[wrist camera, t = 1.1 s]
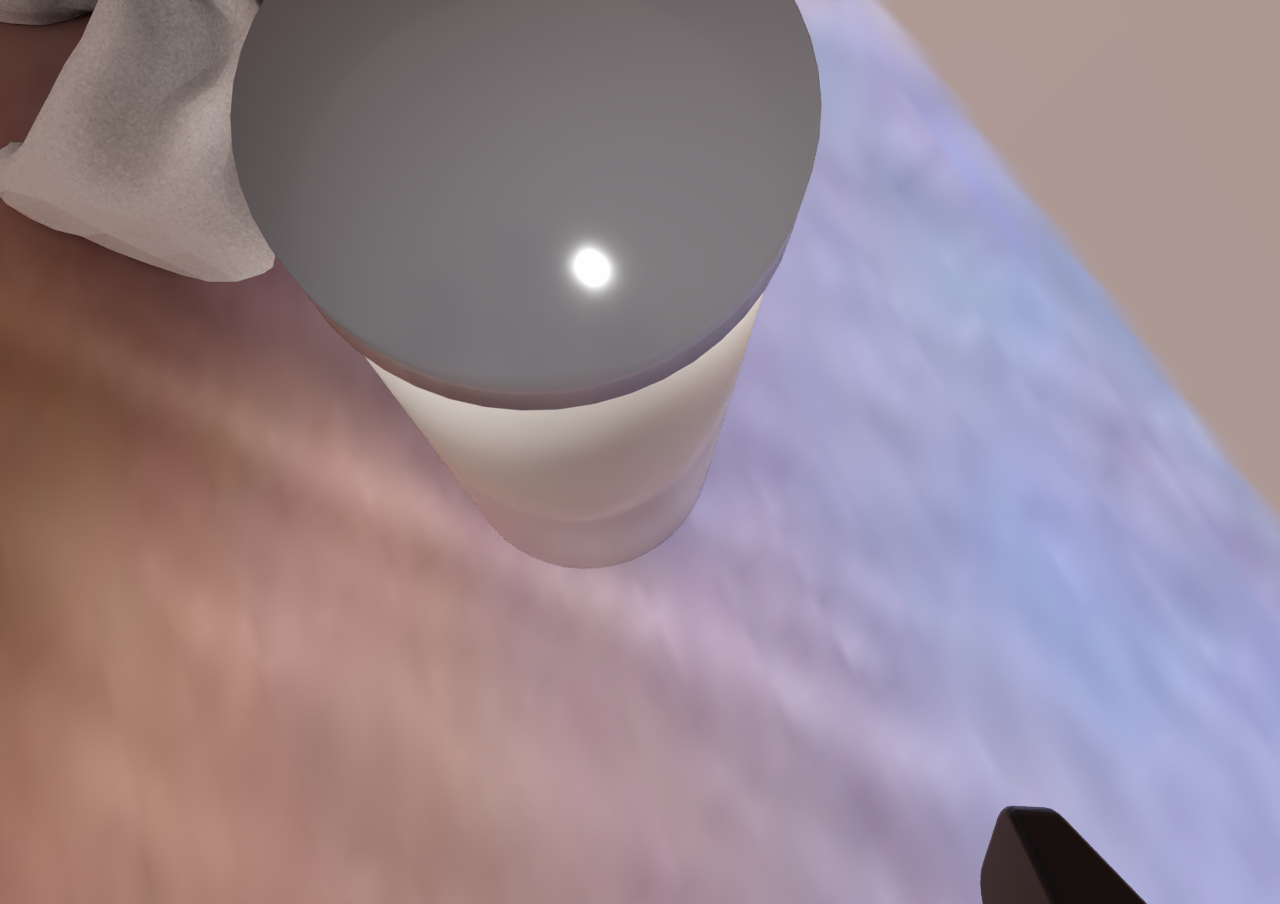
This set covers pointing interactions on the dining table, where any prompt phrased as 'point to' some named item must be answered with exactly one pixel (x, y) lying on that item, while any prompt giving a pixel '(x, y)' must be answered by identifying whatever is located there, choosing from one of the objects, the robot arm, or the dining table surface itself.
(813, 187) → the dining table surface
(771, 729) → the dining table surface
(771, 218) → the shaker
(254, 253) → the cloth
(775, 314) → the dining table surface
